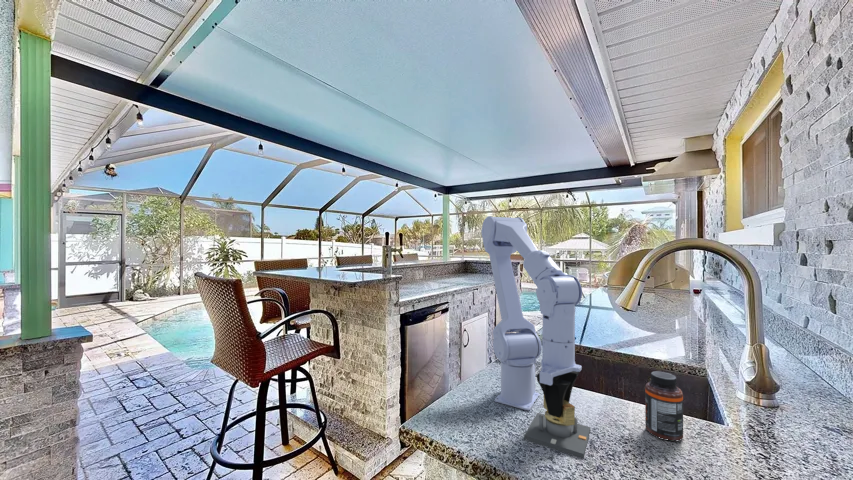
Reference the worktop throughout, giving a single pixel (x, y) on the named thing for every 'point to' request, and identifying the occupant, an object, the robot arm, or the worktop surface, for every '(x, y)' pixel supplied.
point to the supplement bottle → (664, 406)
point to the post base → (562, 442)
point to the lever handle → (562, 415)
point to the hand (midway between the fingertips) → (558, 411)
